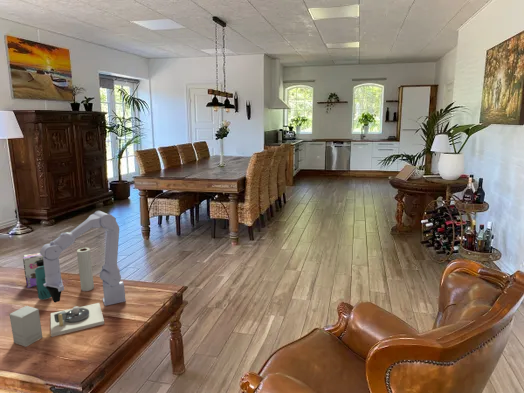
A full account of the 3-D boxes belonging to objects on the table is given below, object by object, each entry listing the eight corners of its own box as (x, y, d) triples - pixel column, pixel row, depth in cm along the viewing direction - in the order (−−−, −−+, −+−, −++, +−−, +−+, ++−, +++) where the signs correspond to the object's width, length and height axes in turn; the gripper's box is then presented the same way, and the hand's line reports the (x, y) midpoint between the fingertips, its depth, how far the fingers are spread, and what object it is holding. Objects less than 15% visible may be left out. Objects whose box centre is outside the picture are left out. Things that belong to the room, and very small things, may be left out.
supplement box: (43, 337, 153) (39, 308, 150) (25, 347, 146) (21, 317, 143) (31, 333, 156) (26, 305, 153) (13, 342, 149) (8, 313, 146)
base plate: (99, 305, 178) (98, 292, 176) (104, 324, 162) (102, 310, 161) (51, 316, 168) (49, 302, 167) (51, 336, 153) (49, 322, 152)
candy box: (26, 288, 195) (22, 258, 192) (27, 283, 200) (23, 254, 197) (56, 282, 201) (53, 253, 198) (56, 278, 206) (53, 250, 203)
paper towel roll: (88, 292, 191) (84, 252, 186) (78, 290, 193) (73, 250, 188) (98, 286, 198) (94, 247, 193) (88, 284, 199) (84, 246, 195)
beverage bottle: (35, 301, 182) (29, 262, 178) (47, 295, 188) (42, 257, 184) (44, 303, 180) (39, 264, 175) (57, 297, 186) (52, 259, 181)
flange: (82, 308, 172) (81, 299, 171) (93, 315, 166) (92, 306, 165) (51, 320, 162) (50, 311, 161) (61, 328, 156) (60, 319, 155)
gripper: (35, 270, 161) (40, 299, 164) (49, 279, 152) (53, 310, 155) (53, 265, 167) (57, 293, 170) (67, 274, 157) (71, 304, 160)
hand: (56, 301), depth 163 cm, fingers closed
